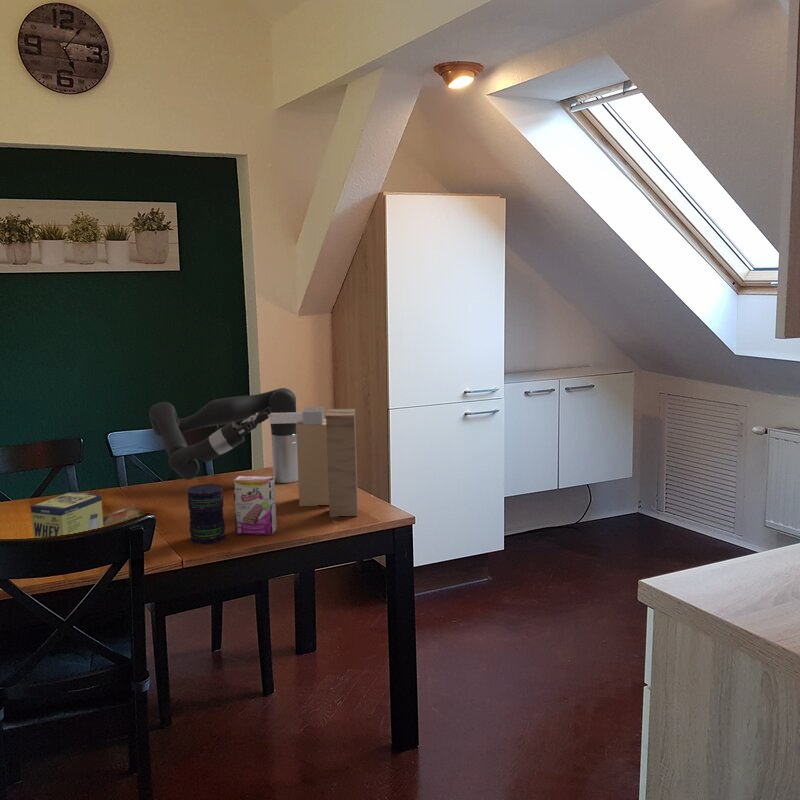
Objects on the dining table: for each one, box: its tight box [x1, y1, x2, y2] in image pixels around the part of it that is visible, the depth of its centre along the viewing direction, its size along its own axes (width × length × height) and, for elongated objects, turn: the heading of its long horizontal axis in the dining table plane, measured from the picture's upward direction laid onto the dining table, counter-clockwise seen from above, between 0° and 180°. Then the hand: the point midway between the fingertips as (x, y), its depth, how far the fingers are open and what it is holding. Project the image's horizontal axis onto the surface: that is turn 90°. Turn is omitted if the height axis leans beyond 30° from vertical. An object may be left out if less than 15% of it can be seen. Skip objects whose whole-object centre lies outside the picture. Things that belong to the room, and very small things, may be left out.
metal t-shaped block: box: [268, 406, 325, 425], centre depth 270 cm, size 10×17×4 cm, turn 91°
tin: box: [103, 506, 145, 526], centre depth 240 cm, size 15×3×8 cm, turn 148°
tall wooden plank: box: [325, 408, 359, 518], centre depth 258 cm, size 12×8×32 cm
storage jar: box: [186, 483, 226, 546], centre depth 237 cm, size 10×10×15 cm
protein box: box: [30, 491, 104, 539], centre depth 226 cm, size 10×16×16 cm
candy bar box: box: [233, 475, 277, 536], centre depth 242 cm, size 11×5×16 cm, turn 84°
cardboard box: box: [296, 418, 329, 507], centre depth 272 cm, size 10×12×27 cm
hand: (269, 412), depth 269 cm, fingers open, 8 cm apart
